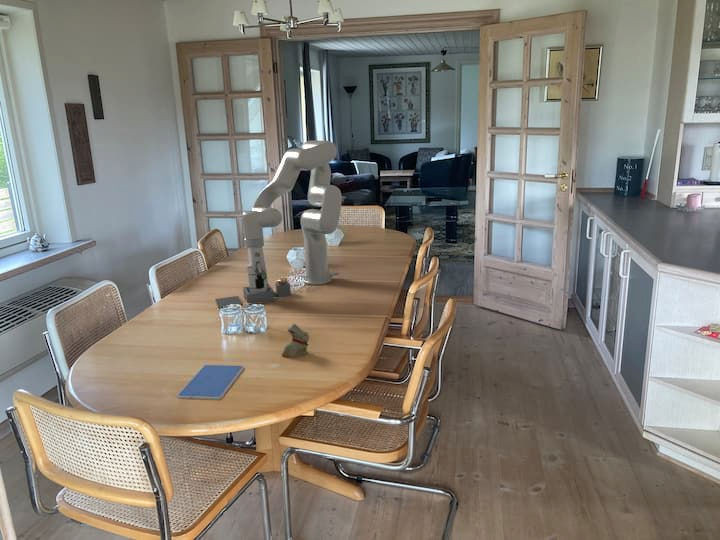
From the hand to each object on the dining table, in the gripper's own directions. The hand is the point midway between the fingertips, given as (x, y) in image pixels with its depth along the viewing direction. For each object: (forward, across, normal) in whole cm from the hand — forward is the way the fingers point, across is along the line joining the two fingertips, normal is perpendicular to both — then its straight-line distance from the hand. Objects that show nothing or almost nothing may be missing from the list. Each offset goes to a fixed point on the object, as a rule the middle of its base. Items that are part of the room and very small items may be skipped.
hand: (258, 285), depth 228 cm
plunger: (+5, 0, -10) cm, 11 cm away
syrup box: (+6, 0, 0) cm, 6 cm away
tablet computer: (+6, -69, +25) cm, 74 cm away
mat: (+5, 0, +12) cm, 13 cm away
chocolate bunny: (+6, -60, -1) cm, 60 cm away
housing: (+6, 0, -3) cm, 7 cm away
